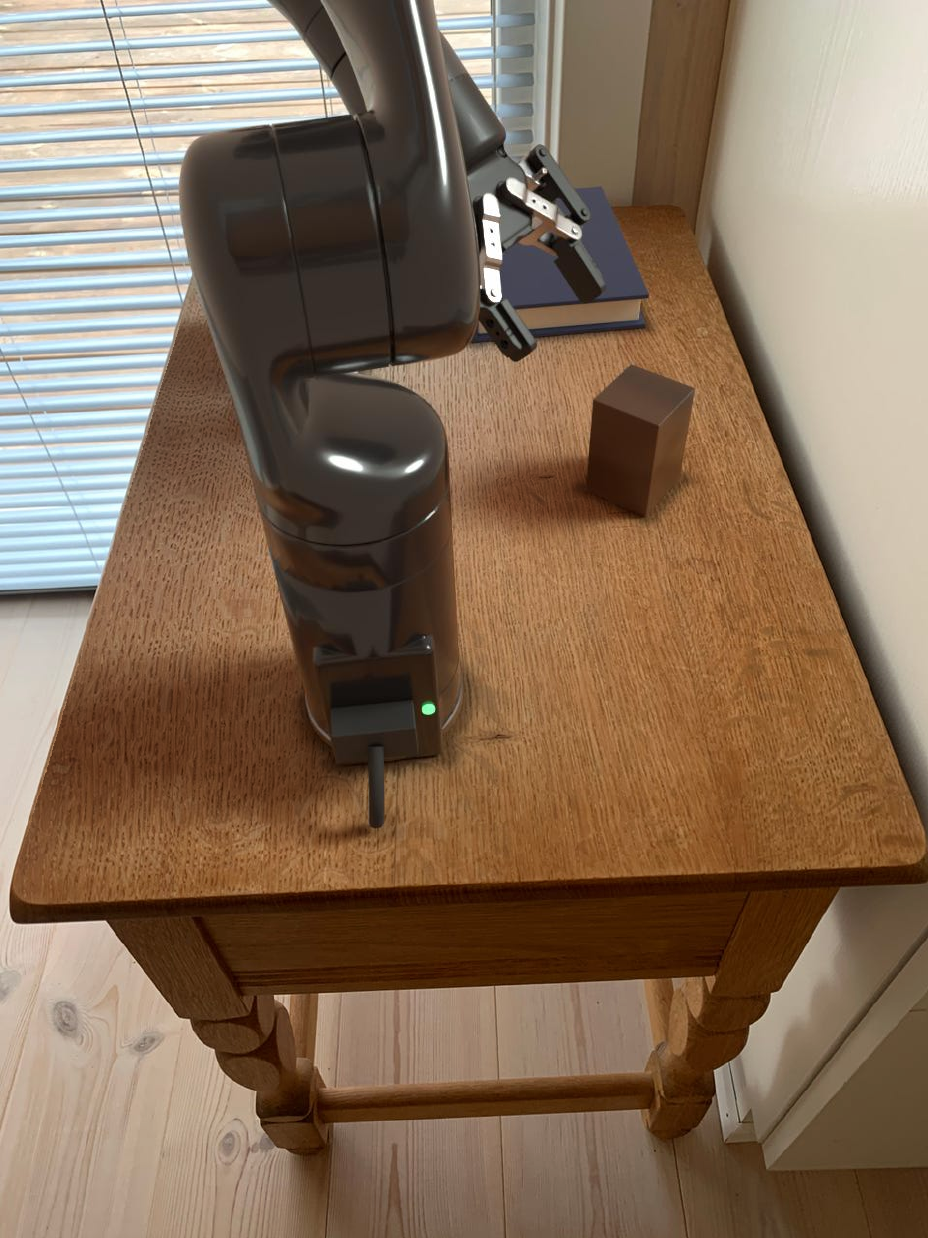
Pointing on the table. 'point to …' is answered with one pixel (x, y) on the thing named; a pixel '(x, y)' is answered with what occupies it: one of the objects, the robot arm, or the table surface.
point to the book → (550, 297)
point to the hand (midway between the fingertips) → (562, 325)
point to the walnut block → (638, 438)
